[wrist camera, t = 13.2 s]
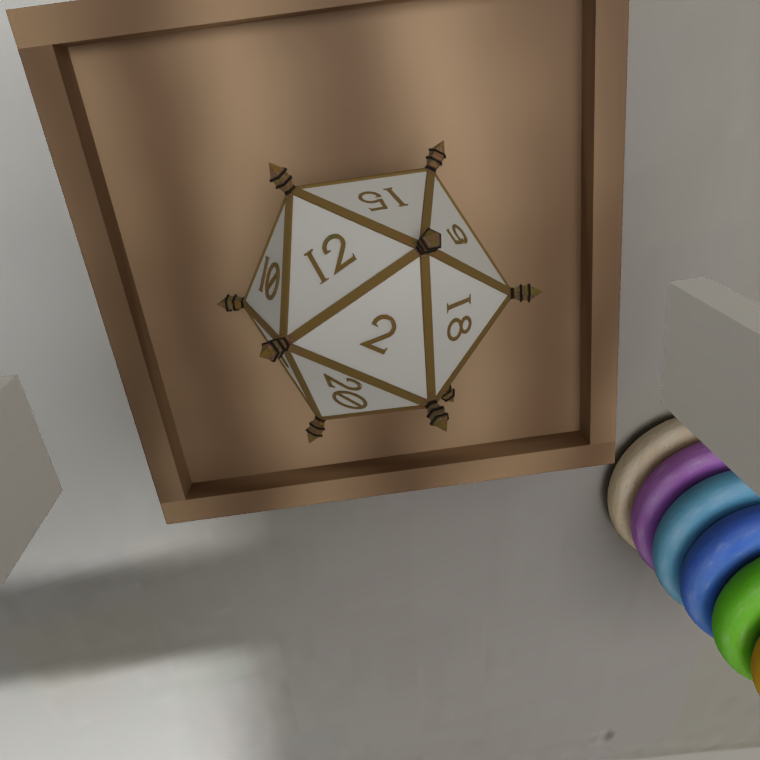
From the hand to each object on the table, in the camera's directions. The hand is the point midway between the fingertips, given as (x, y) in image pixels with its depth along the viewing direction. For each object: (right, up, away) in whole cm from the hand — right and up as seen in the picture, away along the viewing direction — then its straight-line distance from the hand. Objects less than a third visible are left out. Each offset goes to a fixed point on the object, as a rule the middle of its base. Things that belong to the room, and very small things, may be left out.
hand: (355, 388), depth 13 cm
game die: (0, +4, +10) cm, 11 cm away
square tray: (0, +5, +13) cm, 14 cm away
